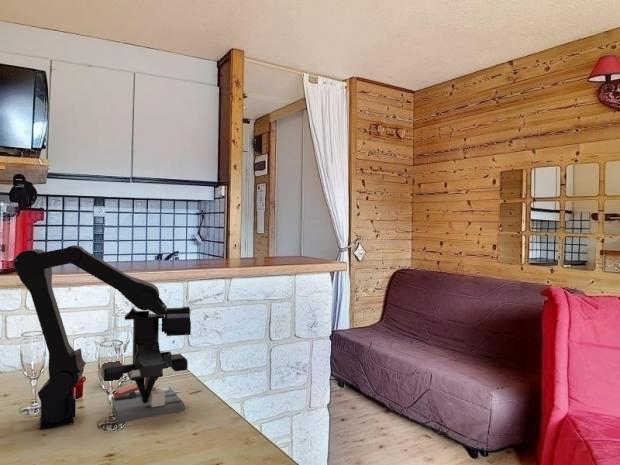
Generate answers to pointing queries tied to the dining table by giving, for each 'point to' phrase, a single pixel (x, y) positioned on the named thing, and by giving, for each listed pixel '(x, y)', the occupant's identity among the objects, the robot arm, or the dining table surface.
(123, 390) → the rocker
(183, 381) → the dining table surface
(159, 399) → the front slider
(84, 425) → the dining table surface
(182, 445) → the dining table surface
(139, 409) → the panel
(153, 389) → the middle slider
